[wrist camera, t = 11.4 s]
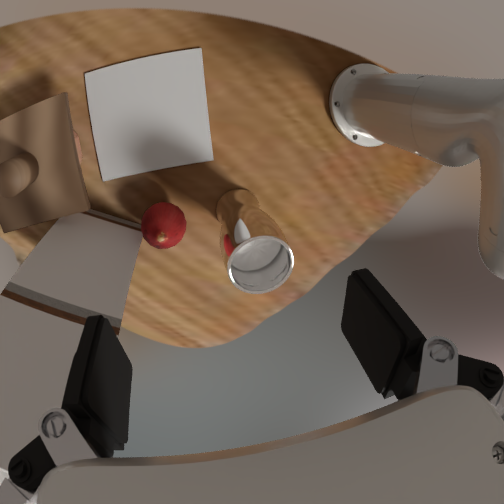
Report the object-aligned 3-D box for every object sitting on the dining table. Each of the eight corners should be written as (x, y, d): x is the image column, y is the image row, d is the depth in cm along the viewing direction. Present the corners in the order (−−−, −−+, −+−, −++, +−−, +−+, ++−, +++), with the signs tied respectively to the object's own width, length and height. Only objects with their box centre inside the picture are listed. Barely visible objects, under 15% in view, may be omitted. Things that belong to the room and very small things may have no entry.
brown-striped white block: (64, 264, 40) (-17, 478, 10) (72, 203, 36) (-65, 430, 6) (129, 285, 44) (101, 518, 14) (145, 226, 40) (102, 500, 10)
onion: (174, 239, 42) (172, 270, 35) (138, 223, 39) (128, 251, 32) (193, 205, 40) (194, 230, 33) (156, 187, 37) (148, 209, 31)
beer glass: (202, 206, 40) (209, 264, 27) (243, 175, 39) (271, 219, 26) (233, 240, 44) (253, 306, 31) (271, 212, 42) (308, 268, 30)
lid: (67, 92, 24) (45, 93, 19) (90, 207, 31) (76, 227, 26) (-19, 131, 22) (-45, 140, 17) (7, 230, 29) (-13, 250, 24)
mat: (201, 48, 29) (201, 47, 29) (213, 159, 37) (213, 160, 37) (85, 73, 28) (84, 73, 27) (103, 180, 35) (103, 181, 35)
